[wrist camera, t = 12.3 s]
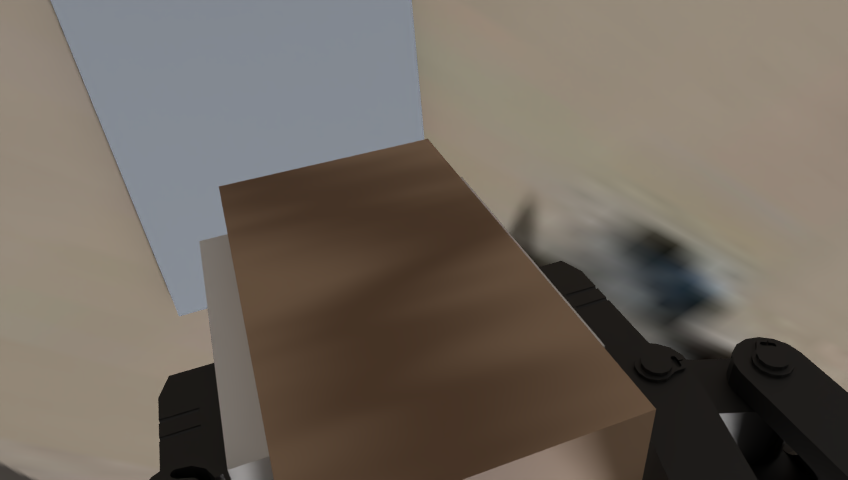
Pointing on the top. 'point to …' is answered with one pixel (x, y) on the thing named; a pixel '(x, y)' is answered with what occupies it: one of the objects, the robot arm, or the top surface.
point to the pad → (237, 101)
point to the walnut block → (416, 334)
